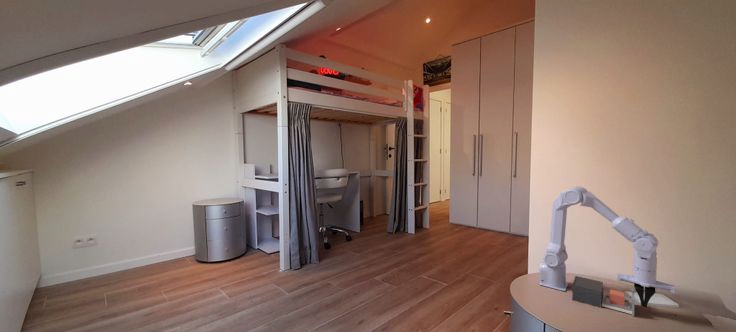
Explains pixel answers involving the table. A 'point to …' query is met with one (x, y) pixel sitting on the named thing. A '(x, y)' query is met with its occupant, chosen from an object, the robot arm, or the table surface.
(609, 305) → the tray
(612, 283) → the table surface
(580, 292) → the player housing
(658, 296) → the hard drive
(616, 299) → the block
